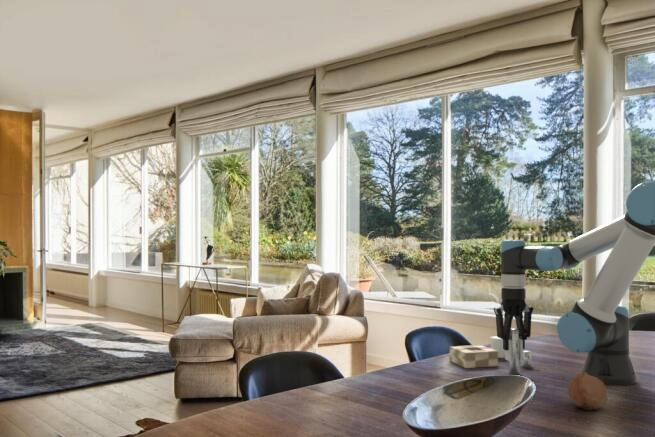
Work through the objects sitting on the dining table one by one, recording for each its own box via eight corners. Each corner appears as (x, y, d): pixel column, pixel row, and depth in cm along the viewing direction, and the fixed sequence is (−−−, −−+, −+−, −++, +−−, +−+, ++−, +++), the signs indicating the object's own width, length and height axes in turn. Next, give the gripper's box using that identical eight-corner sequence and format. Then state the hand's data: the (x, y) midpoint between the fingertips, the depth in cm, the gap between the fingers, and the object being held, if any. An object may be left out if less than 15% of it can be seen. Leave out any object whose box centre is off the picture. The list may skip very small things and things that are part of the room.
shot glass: (512, 358, 222) (511, 338, 222) (492, 358, 222) (492, 338, 222) (506, 354, 229) (506, 335, 229) (488, 354, 229) (488, 335, 229)
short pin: (533, 366, 208) (533, 352, 208) (524, 367, 207) (524, 352, 207) (527, 364, 211) (527, 350, 211) (519, 365, 210) (519, 350, 210)
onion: (579, 415, 163) (574, 377, 168) (616, 412, 157) (609, 373, 162) (564, 409, 157) (559, 370, 162) (602, 406, 151) (595, 365, 156)
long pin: (521, 373, 199) (520, 329, 199) (512, 373, 198) (512, 330, 198) (515, 371, 202) (515, 328, 202) (507, 371, 201) (506, 328, 201)
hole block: (497, 365, 210) (497, 351, 210) (465, 368, 207) (465, 353, 207) (480, 358, 221) (480, 344, 221) (449, 360, 218) (449, 346, 218)
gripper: (529, 285, 206) (529, 356, 206) (484, 286, 202) (485, 359, 202) (542, 287, 199) (543, 360, 199) (496, 289, 195) (497, 363, 194)
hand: (514, 359), depth 200 cm, fingers open, 3 cm apart
